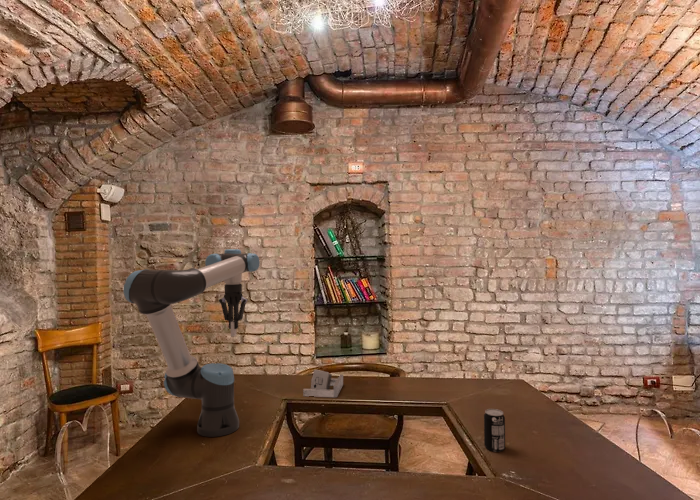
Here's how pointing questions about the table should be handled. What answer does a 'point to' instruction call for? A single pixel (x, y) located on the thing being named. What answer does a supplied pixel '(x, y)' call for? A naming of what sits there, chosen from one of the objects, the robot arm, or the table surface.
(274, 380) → the table surface
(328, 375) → the electrical switch
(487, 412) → the beverage can
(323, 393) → the aluminium bracket
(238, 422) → the robot arm
